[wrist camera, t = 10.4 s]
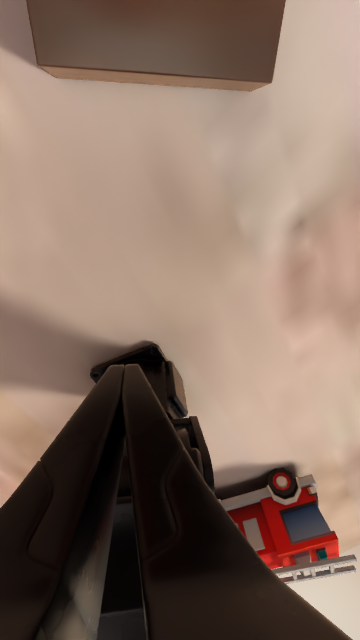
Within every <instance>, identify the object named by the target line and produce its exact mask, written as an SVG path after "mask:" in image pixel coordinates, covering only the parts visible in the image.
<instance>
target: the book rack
mask: <svg viewBox="0 0 360 640" xmlns="http://www.w3.org/2000/svg"><path fill="white" fill-rule="evenodd" d="M26 1H27V7H28V13H29V19H30V25H31V30H32V36H33V42H34V48H35V54H36V60H37V64H38V66H40V67H41V68H43V69H44V70H45V71H47V72H48V73H50V74H51V75H53V76H54V77H56V78H66V79H81V80H95V81H109V82H124V83H138V84H152V85H167V86H181V87H195V88H210V89H224V90H238V91H253V90H255V89H258V88H260V87H262V86H265V85H267V84H270V83H272V80H273V74H274V68H275V62H276V55H277V49H278V43H279V37H280V31H281V25H282V19H283V13H284V7H285V1H286V0H26Z"/></svg>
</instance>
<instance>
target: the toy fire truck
mask: <svg viewBox="0 0 360 640" xmlns="http://www.w3.org/2000/svg"><path fill="white" fill-rule="evenodd" d="M215 496H216V495H215ZM216 498H217V497H216ZM218 501H219V502H220V503H221V505H222V506H223V507H224V509H225V510H226V512H227V513H228V514H229V516H230V517H231V518H232V520H233V521H234V522H235V524H236V525H237V527H238V528H239V529H240V531H241V532H242V533H243V535H244V536H245V537H246V539H247V540H248V541H249V543H250V544H251V546H252V547H253V548H254V550H255V551H256V552H257V553H258V555H259V556H260V557H261V558H262V560H263V561H264V562H265V563H266V564H267V566H268V567H269V568H270V569H272V571H273V572H274V573H275V574H276V575H277V576H278V575H284V574H289V573H292V575H293V576H291V577H286V578H280V579H281V580H282V581H283V582H284V583H285V584H289V583H294V582H300V581H306V580H311V579H317V578H323V577H328V576H334V575H340V574H346V573H351V572H356V569H355V567H354V566H353V565H352V566H347V567H341V568H336V569H334V565H339V564H344V563H350V562H355V561H357V559H356V557H355V556H354V555H349V556H343V557H339V547H338V538H337V536H336V534H335V532H334V531H331V530H330V528H329V527H328V525H327V523H326V521H325V520H324V518H323V516H322V514H321V512H320V511H319V508H318V507H319V506H318V496H317V490H316V482H315V480H314V479H313V477H312V475H307V476H304V477H301V478H298V477H295V478H294V477H293V475H292V473H291V472H289V471H287V470H285V469H284V468H280V469H274V470H273V471H272V472H271V473H270V474H269V485H267V487H266V488H262V489H259V490H256V491H252V492H249V493H245V494H242V495H238V496H235V497H231V498H228V499H224V500H220V499H218ZM282 566H283V568H278V567H282ZM328 566H329V570H324V571H319V572H315V569H317V568H322V567H328ZM274 568H278V569H274ZM296 572H300V573H301V574H302V575H296Z"/></svg>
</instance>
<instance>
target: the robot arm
mask: <svg viewBox="0 0 360 640" xmlns="http://www.w3.org/2000/svg"><path fill="white" fill-rule="evenodd" d="M152 349H155V351H151V350H152ZM95 373H98V374H95ZM90 376H91V378H92V379H93V380H94V381H95V383H96V385H95V386H94V388H93V389H92V390H91V392H90V393H89V394H88V396H87V397H86V398H85V400H84V401H83V402H82V404H81V405H80V406H79V408H78V409H77V410H76V412H75V413H74V414H73V416H72V417H71V418H70V420H69V421H68V422H67V424H66V425H65V426H64V428H63V429H62V430H61V432H60V433H59V434H58V436H57V437H56V438H55V440H54V441H53V442H52V444H51V445H50V446H49V448H48V449H47V450H46V451H45V453H44V454H43V455H42V457H41V458H40V460H41V461H38V462H37V463H36V465H35V466H34V467H33V469H32V470H31V471H30V473H29V474H28V475H27V477H26V478H25V479H24V480H23V482H22V483H21V484H20V485H19V487H18V488H17V489H16V490H15V492H14V493H13V494H12V495H11V497H10V498H9V499H8V500H7V501H6V502H5V504H4V505H3V506H2V507H1V508H0V640H352V639H351V638H350V637H349V636H348V635H346V634H345V633H344V632H343V631H342V630H340V629H339V628H338V627H337V626H336V625H334V624H333V623H332V622H331V621H329V620H328V619H327V618H326V617H325V616H323V615H322V614H321V613H320V612H319V611H317V610H316V609H315V608H314V607H313V606H311V605H310V604H309V603H308V602H307V601H305V600H304V599H303V598H302V597H301V596H299V595H298V594H297V593H296V592H295V591H293V590H292V589H291V588H290V587H288V586H287V585H286V584H285V583H284V582H283V581H282V580H281V579H280V578H278V576H277V575H276V574H275V573H274V572H273V571H272V570H271V569H270V568H269V567H268V566H267V564H266V563H265V562H264V561H263V560H262V558H261V557H260V556H259V555H258V553H257V552H256V551H255V550H254V548H253V547H252V546H251V544H250V543H249V541H248V540H247V539H246V537H245V536H244V535H243V533H242V532H241V531H240V529H239V528H238V527H237V525H236V524H235V522H234V521H233V520H232V518H231V517H230V516H229V514H228V513H227V512H226V510H225V509H224V507H223V506H222V505H221V503H220V502H219V501H218V499H217V498H216V496H215V487H214V477H213V469H212V463H211V459H210V455H209V451H208V448H207V446H206V443H205V440H204V437H203V434H202V431H201V428H200V425H199V422H198V419H197V416H190V417H189V418H183V417H186V416H187V414H188V410H187V404H186V398H185V392H184V387H183V381H182V378H181V376H180V375H179V373H178V371H177V370H176V368H175V366H174V364H173V363H172V362H171V361H167V359H166V358H165V356H164V354H163V353H162V351H161V349H160V348H159V346H158V345H156V344H151V345H148V346H146V347H144V348H141V349H139V350H136V351H134V352H131V353H129V354H126V355H124V356H122V357H119V358H117V359H114V360H112V361H109V362H107V363H104V364H102V365H100V366H97V367H95V368H93V369H91V372H90Z"/></svg>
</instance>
